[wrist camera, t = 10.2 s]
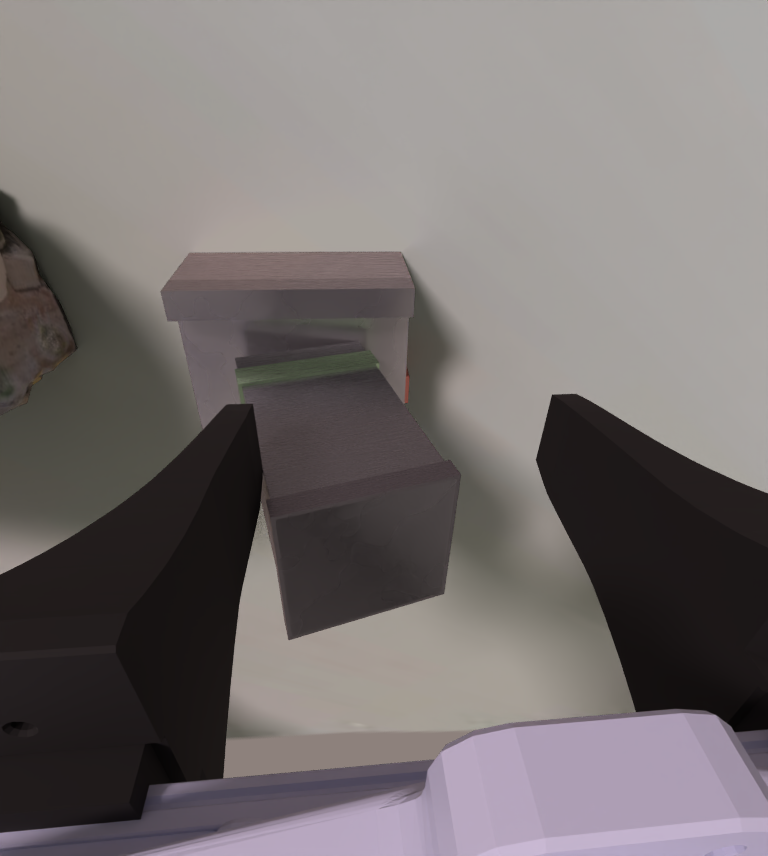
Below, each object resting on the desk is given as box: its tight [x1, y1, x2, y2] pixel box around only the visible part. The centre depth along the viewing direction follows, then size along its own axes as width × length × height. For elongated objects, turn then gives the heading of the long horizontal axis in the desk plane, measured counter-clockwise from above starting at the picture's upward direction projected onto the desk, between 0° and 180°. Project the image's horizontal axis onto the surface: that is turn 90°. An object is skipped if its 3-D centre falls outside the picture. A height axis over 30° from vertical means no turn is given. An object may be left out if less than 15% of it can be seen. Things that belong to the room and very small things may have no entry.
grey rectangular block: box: [235, 341, 461, 640], centre depth 16 cm, size 5×5×8 cm
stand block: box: [161, 252, 415, 429], centre depth 20 cm, size 9×8×4 cm
